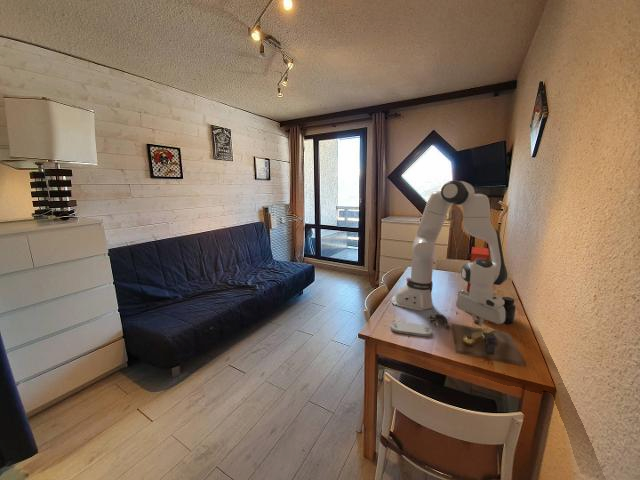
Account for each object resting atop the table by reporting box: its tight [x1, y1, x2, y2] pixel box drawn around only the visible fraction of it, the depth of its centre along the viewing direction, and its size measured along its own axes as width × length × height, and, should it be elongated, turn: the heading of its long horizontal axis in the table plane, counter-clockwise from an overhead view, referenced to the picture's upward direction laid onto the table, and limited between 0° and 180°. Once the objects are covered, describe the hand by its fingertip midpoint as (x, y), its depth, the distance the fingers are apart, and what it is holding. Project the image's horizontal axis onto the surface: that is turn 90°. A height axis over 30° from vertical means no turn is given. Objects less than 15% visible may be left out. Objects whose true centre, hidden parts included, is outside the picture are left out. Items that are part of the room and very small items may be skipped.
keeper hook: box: [482, 332, 498, 355], centre depth 106 cm, size 4×7×5 cm, turn 158°
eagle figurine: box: [427, 312, 451, 330], centre depth 127 cm, size 8×7×9 cm
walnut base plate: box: [451, 323, 526, 367], centre depth 112 cm, size 23×22×2 cm
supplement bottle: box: [501, 296, 517, 325], centre depth 130 cm, size 7×7×12 cm
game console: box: [390, 321, 433, 337], centre depth 123 cm, size 18×2×8 cm
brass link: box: [463, 326, 496, 346], centre depth 113 cm, size 18×4×5 cm, turn 118°
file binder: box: [466, 246, 490, 292], centre depth 144 cm, size 8×17×32 cm, turn 149°
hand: (477, 324), depth 121 cm, fingers closed
